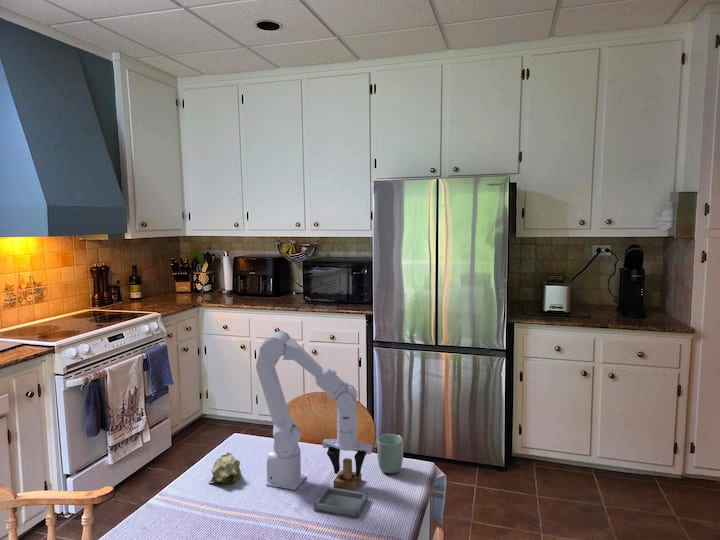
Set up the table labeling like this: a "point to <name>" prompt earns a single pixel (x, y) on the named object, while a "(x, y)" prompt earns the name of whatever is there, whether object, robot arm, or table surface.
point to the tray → (341, 502)
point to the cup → (390, 453)
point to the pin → (347, 469)
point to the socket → (345, 483)
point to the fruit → (226, 470)
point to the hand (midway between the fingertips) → (347, 473)
